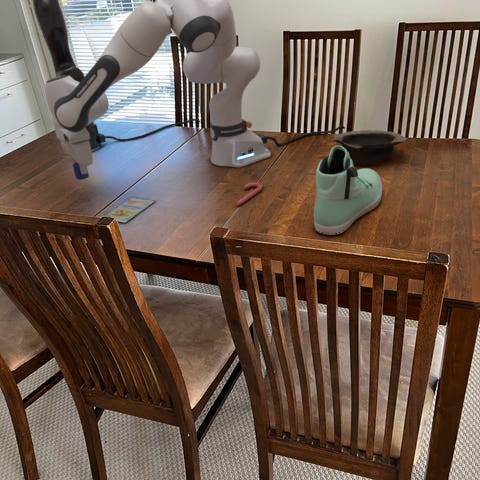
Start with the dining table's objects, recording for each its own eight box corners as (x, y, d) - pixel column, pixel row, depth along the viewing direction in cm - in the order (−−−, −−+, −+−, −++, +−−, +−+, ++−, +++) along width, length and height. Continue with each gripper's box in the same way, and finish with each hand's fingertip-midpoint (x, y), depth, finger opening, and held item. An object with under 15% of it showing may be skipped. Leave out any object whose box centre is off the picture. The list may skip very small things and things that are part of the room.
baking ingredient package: (101, 217, 143) (132, 196, 155) (101, 218, 144) (132, 197, 155) (125, 221, 140) (154, 200, 151) (125, 223, 140) (154, 201, 152)
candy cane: (223, 203, 147) (223, 198, 147) (250, 184, 157) (250, 180, 157) (239, 207, 144) (239, 202, 143) (266, 187, 154) (265, 183, 154)
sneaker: (389, 187, 148) (396, 123, 138) (356, 242, 123) (361, 168, 112) (346, 181, 154) (350, 119, 144) (306, 232, 129) (307, 161, 118)
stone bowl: (364, 175, 156) (364, 148, 152) (319, 158, 176) (318, 133, 172) (421, 157, 165) (422, 130, 161) (371, 142, 185) (372, 118, 181)
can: (89, 173, 160) (85, 160, 158) (88, 178, 156) (85, 165, 154) (76, 175, 159) (72, 162, 157) (75, 180, 156) (72, 167, 153)
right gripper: (50, 124, 156) (61, 164, 163) (70, 140, 141) (82, 183, 148) (69, 120, 158) (79, 159, 166) (91, 134, 144) (101, 177, 151)
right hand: (81, 170), depth 157 cm, fingers closed on can, 4 cm apart
